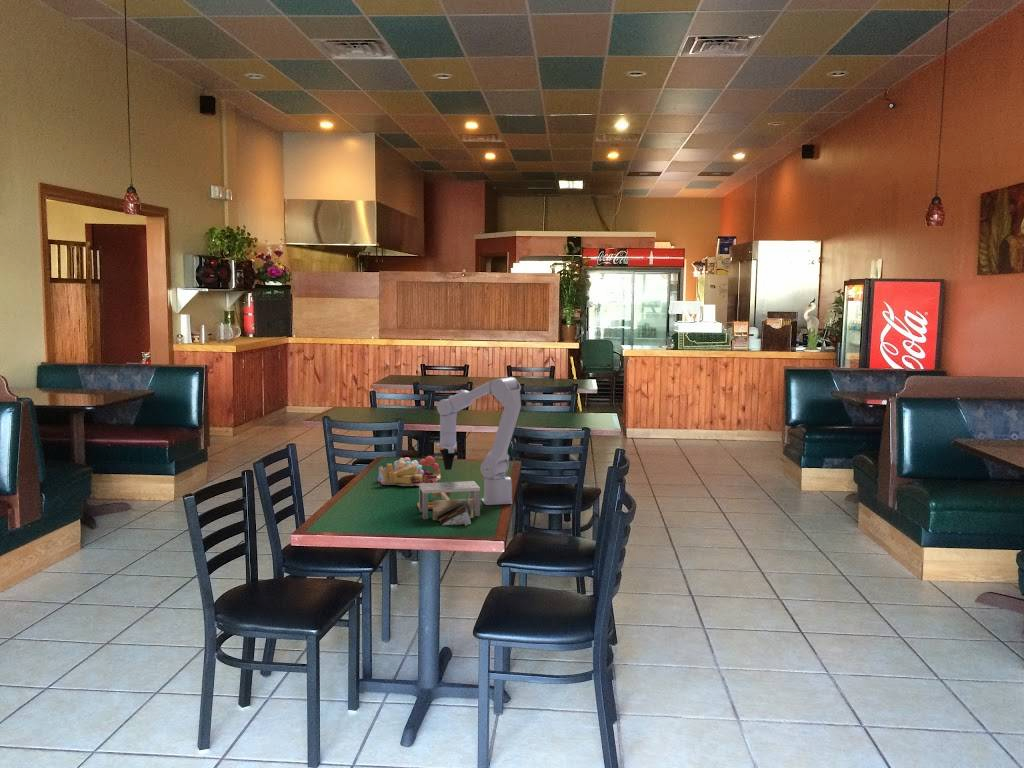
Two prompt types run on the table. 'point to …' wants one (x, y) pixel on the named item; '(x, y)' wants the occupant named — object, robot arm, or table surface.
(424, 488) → the tunnel
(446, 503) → the sled
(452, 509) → the chocolate cake
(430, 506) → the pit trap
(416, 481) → the candy landscape model
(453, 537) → the table surface
